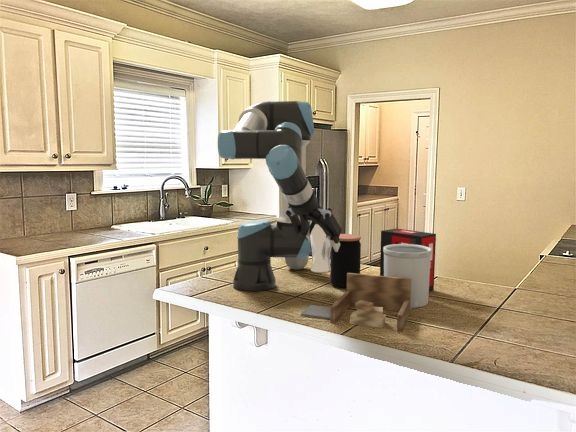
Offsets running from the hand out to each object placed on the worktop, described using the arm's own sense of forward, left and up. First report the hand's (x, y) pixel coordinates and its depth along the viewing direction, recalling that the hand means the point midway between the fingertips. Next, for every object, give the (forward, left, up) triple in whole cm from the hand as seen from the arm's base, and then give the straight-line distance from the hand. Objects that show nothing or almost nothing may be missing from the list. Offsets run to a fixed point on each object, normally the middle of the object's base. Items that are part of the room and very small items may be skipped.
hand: (326, 246), depth 141 cm
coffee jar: (-2, +29, -20) cm, 35 cm away
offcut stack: (+14, -7, -19) cm, 25 cm away
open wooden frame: (+14, -2, -19) cm, 24 cm away
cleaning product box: (+19, +34, -20) cm, 44 cm away
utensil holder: (+21, +17, -20) cm, 34 cm away
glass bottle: (-27, +46, -20) cm, 57 cm away
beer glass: (-1, -3, -7) cm, 8 cm away
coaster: (-1, -4, -19) cm, 20 cm away
